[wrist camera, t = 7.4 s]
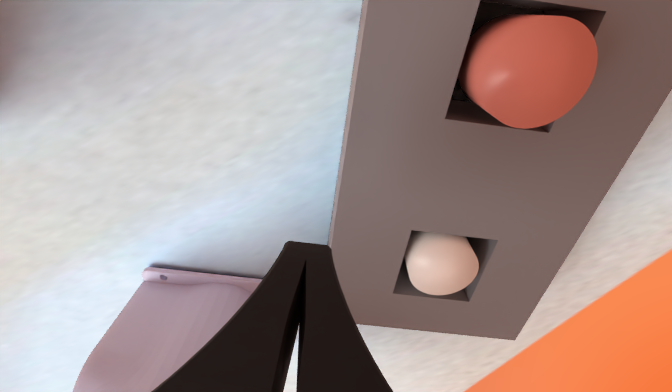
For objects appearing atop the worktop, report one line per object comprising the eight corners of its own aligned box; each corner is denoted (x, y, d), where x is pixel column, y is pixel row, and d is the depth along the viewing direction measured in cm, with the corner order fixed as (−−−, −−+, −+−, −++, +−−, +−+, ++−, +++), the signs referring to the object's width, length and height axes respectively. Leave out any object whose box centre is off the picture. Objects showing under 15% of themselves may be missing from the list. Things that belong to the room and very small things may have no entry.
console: (323, 272, 23) (320, 320, 20) (377, -100, 13) (389, -140, 10) (489, 291, 23) (514, 340, 20) (663, -54, 14) (773, -75, 10)
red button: (447, 101, 14) (469, 121, 12) (474, 7, 13) (508, 7, 10) (525, 111, 15) (565, 134, 12) (564, 20, 13) (620, 24, 10)
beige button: (394, 255, 21) (401, 291, 18) (408, 207, 19) (418, 239, 16) (450, 261, 21) (465, 298, 18) (469, 214, 19) (489, 247, 16)
